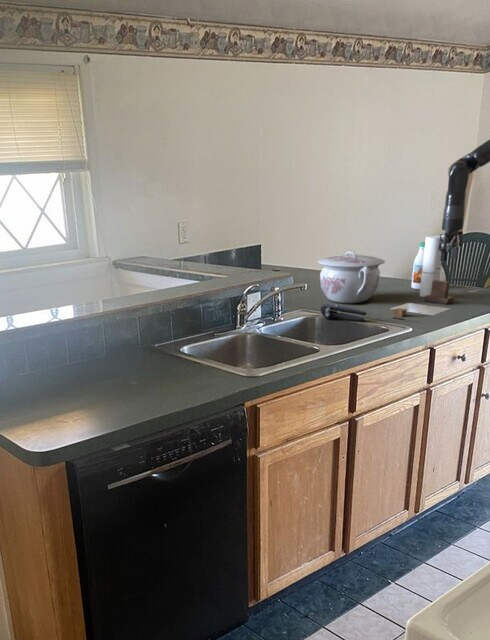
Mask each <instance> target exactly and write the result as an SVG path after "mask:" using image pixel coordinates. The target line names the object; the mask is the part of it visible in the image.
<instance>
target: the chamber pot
mask: <svg viewBox="0 0 490 640" xmlns="http://www.w3.org/2000/svg"><path fill="white" fill-rule="evenodd" d="M317 263H318V264H319V265H321V266H322V269H321V271H320V272H319V282H320V288H321V290H322V292H323V294H324V296H325V297H326V299H328V300H329V301H331V302H334V303H337V304H344V305H345V304H346V305H347V304H348V305H351V304H360V303H364V302H366V301H368V300H370V298H371V297H372V296H373V295H374V293H375V292H376V291H377V289H378V286H379V282H380V278H381V271H380V269H379V266H382V265H383V264H385V263H386V259H383V258H381V257H378V256H373V255H367V254H356V253H355V251H353V250H349V251H347V252H346V253H345V254H335V255H331V256H330V255H329V256H324V257H322V258H319V259H318V260H317Z"/></svg>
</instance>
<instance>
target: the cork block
mask: <svg viewBox="0 0 490 640" xmlns="http://www.w3.org/2000/svg"><path fill="white" fill-rule="evenodd" d="M407 313H408V312H407V309H402V308H397V309H393V313H392V319H394V320H399V321H402V320H403V318H404V317H406V316H407Z"/></svg>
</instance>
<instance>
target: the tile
mask: <svg viewBox="0 0 490 640" xmlns="http://www.w3.org/2000/svg"><path fill="white" fill-rule="evenodd" d="M397 308H402V309H407V312H406V313H415V314H416V313H417V314H422V315H428V316H436V315H438V314H441V313H443V312H446V311H449V310H450V307H449V308H448V307H441V306H434V305H427V304H421V303H412V302H406V303H404V304H400V305H397V306H394V307H391V308H390V310H394V309H397Z"/></svg>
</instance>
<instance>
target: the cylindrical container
mask: <svg viewBox="0 0 490 640" xmlns="http://www.w3.org/2000/svg"><path fill="white" fill-rule="evenodd" d="M439 239H440V235H428V236H427V235H426V236H425V250H424V259H423V268H422V277H421V286H420V289H419V297H422V298H424V296H426V295H429V294H431V290H432V282H433V281H435V280H438V281H440V278H441V270H442V263H443V262H442V261H440V259H441V251H440V250H438V247H439ZM441 247H442V244H441Z"/></svg>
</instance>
